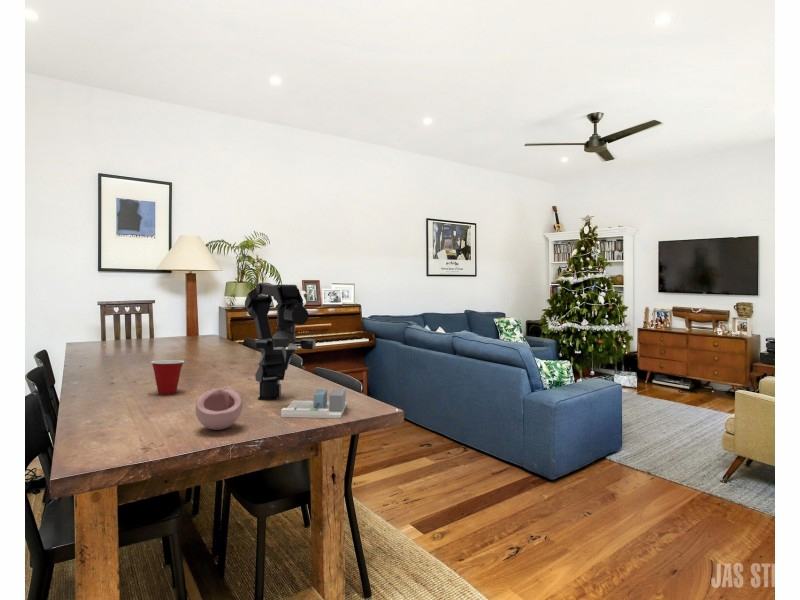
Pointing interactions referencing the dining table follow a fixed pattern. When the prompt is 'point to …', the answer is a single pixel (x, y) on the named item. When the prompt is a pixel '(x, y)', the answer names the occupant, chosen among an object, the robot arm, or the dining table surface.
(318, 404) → the plunger
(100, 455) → the dining table surface
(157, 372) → the plastic cup
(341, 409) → the frame
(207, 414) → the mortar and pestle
